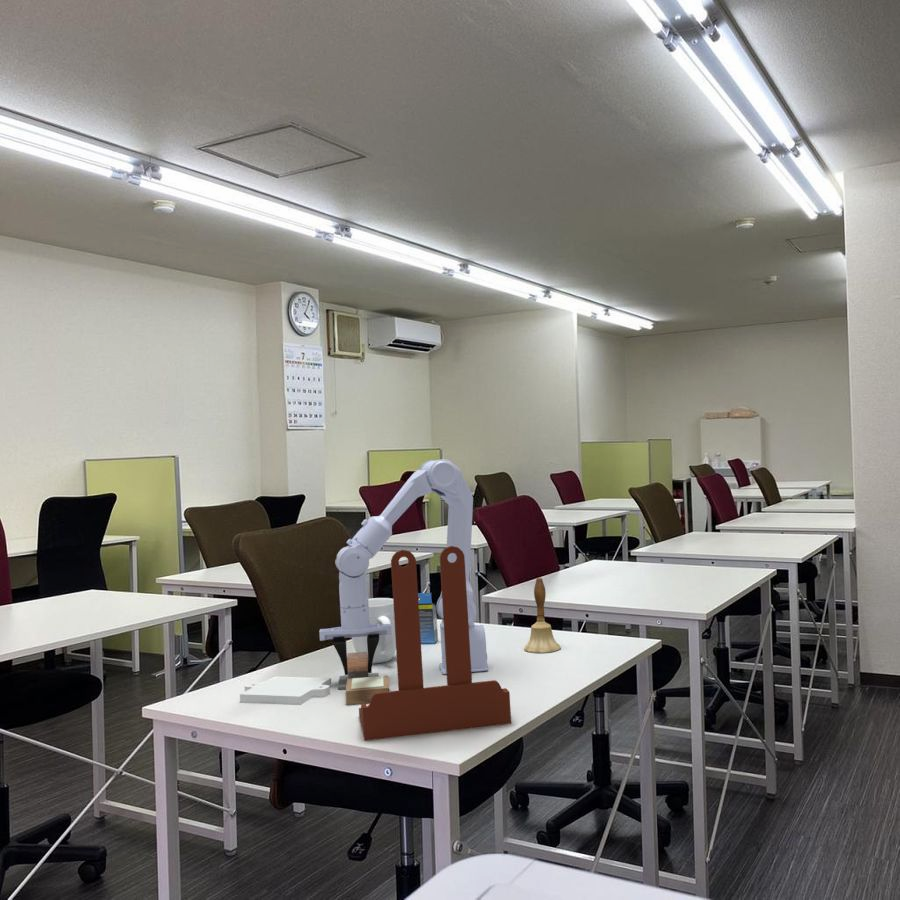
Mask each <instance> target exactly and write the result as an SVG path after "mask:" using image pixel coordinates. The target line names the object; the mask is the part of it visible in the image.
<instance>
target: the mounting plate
mask: <svg viewBox="0 0 900 900" xmlns="http://www.w3.org/2000/svg"><path fill="white" fill-rule="evenodd" d="M330 687H332V678H331V677H307V676H277V675H276V676H275V675H274V676H273V677H272V676H271V677H270V678H269V679H266V680H265V681H262V682H250V683H247V684H245V685H244V691H243V692H242V693H239V701H240V703H245V704H246V703H249V704H251V703H252V704H273V705H275V704H277V705H300V706H301V705H302V704H304V703H306V702H307V701H308V700H311V699H313V698H326V697H328V696H329V695H331V690H330V689H331V688H330Z"/></svg>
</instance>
